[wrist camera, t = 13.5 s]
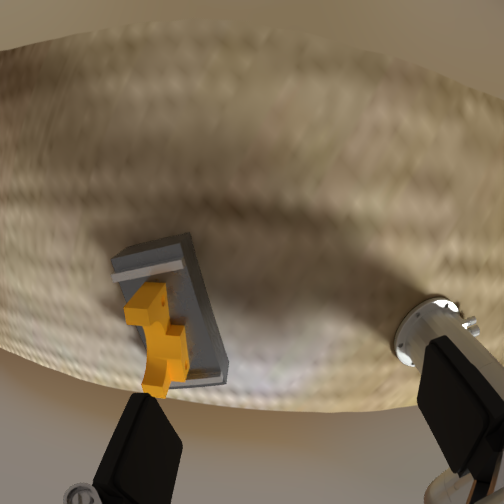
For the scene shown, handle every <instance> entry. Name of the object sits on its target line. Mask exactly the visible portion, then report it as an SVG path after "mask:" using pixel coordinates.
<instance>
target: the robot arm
mask: <svg viewBox="0 0 504 504" xmlns="http://www.w3.org/2000/svg"><path fill="white" fill-rule="evenodd" d="M475 323H476V318H475V316H472V317H469V318H467V319H465V320H464V319H462V318H461V317H460V313H459V310H458V308H457V306H456V305H455V304H454V303H453V302H451V301H450V300H448V299H446V298H441V297H438V298H432V299H429V300H426V301H424V302H422V303H421V304H419V305H418V306H416V307H415V308H414V309H413V310H412V311H411V312H410V313H409V314H408V315H407V316H406V317H405V318H404V320H403V321H402V323H401V324H400V326H399V328H398V330H397V332H396V336H395V340H394V349H395V353H396V355H397V357H398V359H399V360H400V361H401V362H402V363H403V364H405V365H407V366H411V367H416V368H417V370H418V371H419V373H420V374H421V380H420V385H419V391H418V396H417V403H418V407H419V409H420V410H421V412H422V414H423V416H424V418H425V420H426V421H427V423H428V425H429V427H430V429H431V431H432V433H433V435H434V437H435V439H436V440H437V443H438V444H439V446H440V448H441V450H442V452H443V454H444V456H445V458H446V460H447V462H448V464H449V468H448V469H447V470H445V471H444V472H443V473H441V474H440V475H439V476H438V477H436V478H435V479H434V480H433V481H432V482H431V484H430V485H429V486H428V487H427V489H426V491H425V494H424V504H504V367H503V366H502V365H501V364H500V363H499V362H498V361H497V359H496V358H495V357H494V356H493V355H492V354H491V353H490V352H489V351H488V350H487V349H486V348H485V347H484V346H483V345H482V344H481V343H480V342H479V341H478V340H477V339H476V338H475V337H476V336H478V335H479V333H480V329H479V327H478V326H477V325H474V326H472V327H470V328H468V329H467V326H471V325H473V324H475ZM182 449H183V445H182V441H181V439H180V438H179V436H178V435H177V433H176V432H175V430H174V428H173V427H172V425H171V424H170V422H169V420H168V419H167V417H166V415H165V414H164V412H163V410H162V409H161V407H160V406H159V403H158V402H157V400H156V399H155V397H152V396H151V395H150V394H149V393H133V394H132V395H131V397H130V399H129V401H128V403H127V405H126V407H125V409H124V411H123V414H122V416H121V418H120V420H119V422H118V424H117V427H116V429H115V431H114V433H113V435H112V438H111V440H110V442H109V444H108V447H107V449H106V451H105V453H104V456H103V458H102V461H101V463H100V465H99V467H98V470H97V472H96V475H95V477H94V479H93V484H92V485H90V484H87V483H77V484H74V485H73V486H71V487H70V488H69V489H68V490H67V491H66V492H65V494H64V499H63V503H64V504H171V499H172V494H173V490H174V485H175V480H176V476H177V471H178V467H179V463H180V458H181V454H182Z"/></svg>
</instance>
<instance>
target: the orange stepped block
mask: <svg viewBox="0 0 504 504" xmlns="http://www.w3.org/2000/svg"><path fill="white" fill-rule="evenodd" d="M123 308H124V313H125V318H126V323H127V325H137V326H142V327H143V329H144V332H145V337H146V344H147V362H146V370H145V375H144V378H143V381H142V384H141V385H142V388H143V392H144V393H149V394H150V395H151V396H152V397H157V398H164V399H165V398H166V395H167V392H168V389H169V386H170V384H171V381H175V382H185V381H186V377H187V374H188V371H189V367H190V365H189V358H188V350H187V342H186V334H185V326H184V325H171V324H170V316H169V308H168V300H167V291H166V283H156V282H144V284H143V285H142V286H141V287H140V288H139V289H138V291H137V292H136V293H135V294H134V295H133V297H132V298H131V299H130V300H129V301H128V303H127V304H126V305H125V306H124V307H123Z"/></svg>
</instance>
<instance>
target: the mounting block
mask: <svg viewBox="0 0 504 504" xmlns="http://www.w3.org/2000/svg"><path fill="white" fill-rule="evenodd" d="M111 262H112V264H113V267H114V270H115V271H114V272H113V273H112V274H111V277H112V280H113V283H115V282H119V284H120V287H121V290H122V292H123V295H124V298H125V300H126V303H128V301H129V300H130V299H131V298H132V297H133V295H134V294H135V293H136V292H137V291H138V289H139V288H140V287H141V286H142V285H143V284H144V282H156V283H166V291H167V300H168V308H169V316H170V324H171V325H184V326H185V334H186V342H187V350H188V358H189V365H190V367H189V371H188V374H187V377H186V381H185V382H175V381H171V384H170V386H169V389H181V388H194V387H205V386H215V385H224V384H226V382H227V375H228V367H229V360H228V357H227V354H226V351H225V348H224V345H223V342H222V339H221V336H220V333H219V330H218V327H217V324H216V320H215V317H214V314H213V311H212V308H211V304H210V301H209V298H208V294H207V291H206V288H205V284H204V281H203V278H202V274H201V271H200V267H199V264H198V260H197V257H196V253H195V250H194V246H193V242H192V239H191V235H190V232H189V233H184V234H180V235H176V236H171V237H167V238H163V239H159V240H154V241H150V242H146V243H142V244H138V245H134V246H130V247H127V248H125V249H124V250H123V251H121V252H120V253H119V254H117V255H116V256H114V257H113V258H112V259H111ZM136 327H137V329H138V332H139V334H140V336H141V339H142V341H143V343H144V345H145V348H146V350H147V344H146V337H145V332H144V329H143V327H142V326H137V325H136Z"/></svg>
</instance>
